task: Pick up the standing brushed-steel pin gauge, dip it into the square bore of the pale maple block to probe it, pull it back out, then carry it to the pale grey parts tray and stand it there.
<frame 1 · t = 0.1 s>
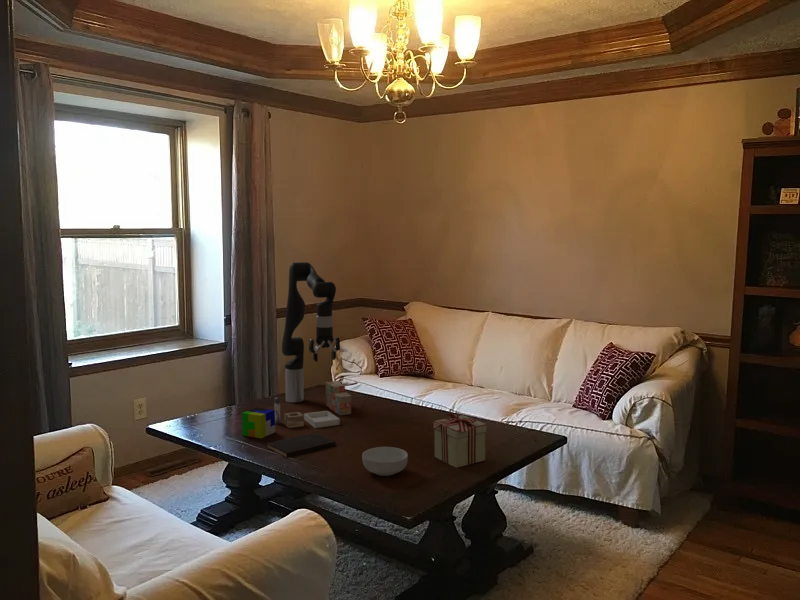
hand: (324, 360, 308), 29 cm above the table, fingers open, 8 cm apart
hardcover book: (301, 448, 277), on the table
maple bore block: (294, 425, 307), on the table
stack of blocks: (338, 410, 334), on the table
gift box: (457, 461, 261), on the table
tray: (321, 421, 312), on the table
puzzle toy: (258, 434, 294), on the table
cereal bowl: (385, 472, 247), on the table
pin gauge: (277, 423, 310), on the table
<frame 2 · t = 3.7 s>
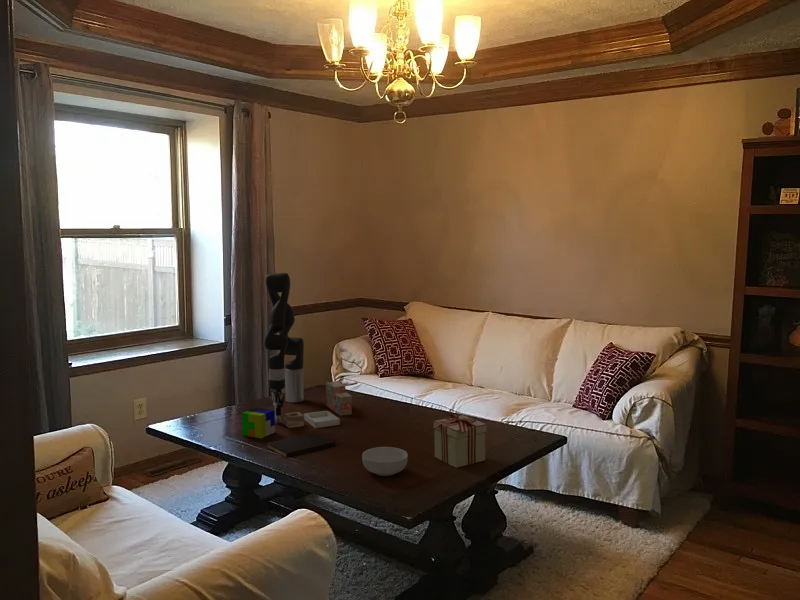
hand: (277, 414, 309), 4 cm above the table, fingers closed on pin gauge, 2 cm apart
pin gauge: (277, 423, 310), on the table, touching gripper
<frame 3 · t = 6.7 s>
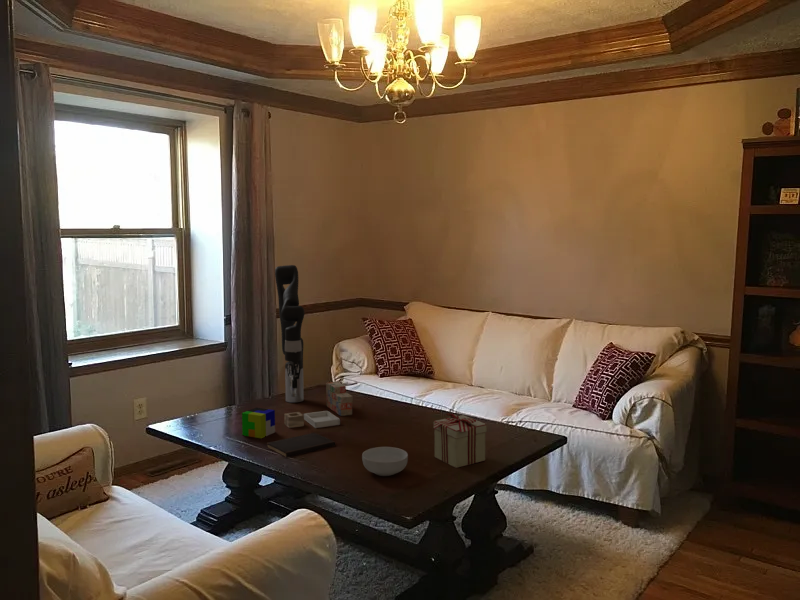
hand: (293, 387, 305), 18 cm above the table, fingers closed on pin gauge, 2 cm apart
pin gauge: (293, 395, 306), point 13 cm above the table, touching gripper
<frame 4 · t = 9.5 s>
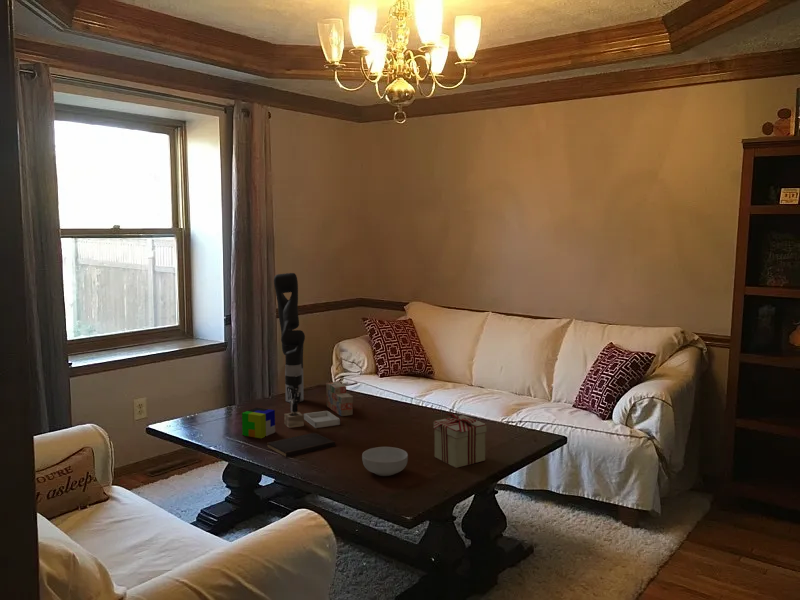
hand: (293, 410, 306), 7 cm above the table, fingers closed on pin gauge, 2 cm apart
pin gauge: (293, 419, 307), point 2 cm above the table, touching gripper
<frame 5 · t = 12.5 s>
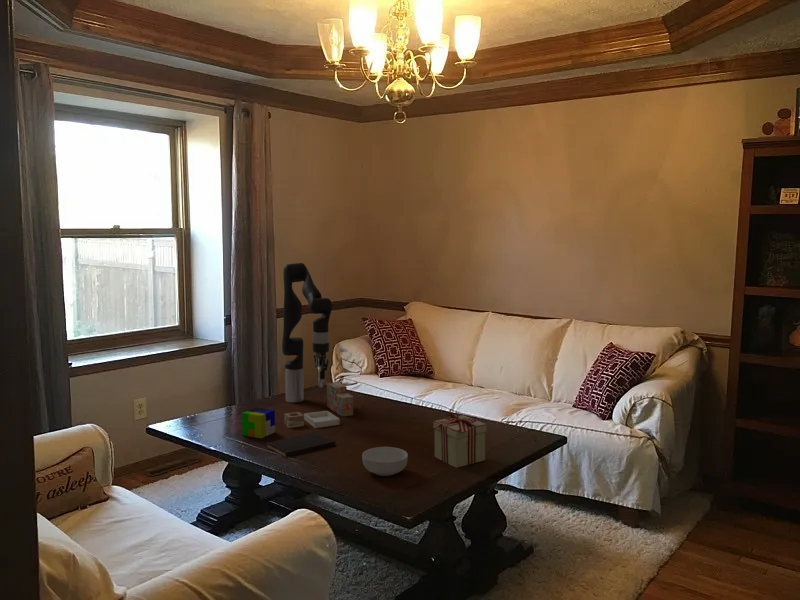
hand: (321, 378, 310), 21 cm above the table, fingers closed on pin gauge, 2 cm apart
pin gauge: (321, 387, 310), point 17 cm above the table, touching gripper
when the fingers open (6 cm above the table, at t = 15.4 s): pin gauge stays where it is, resting on tray.
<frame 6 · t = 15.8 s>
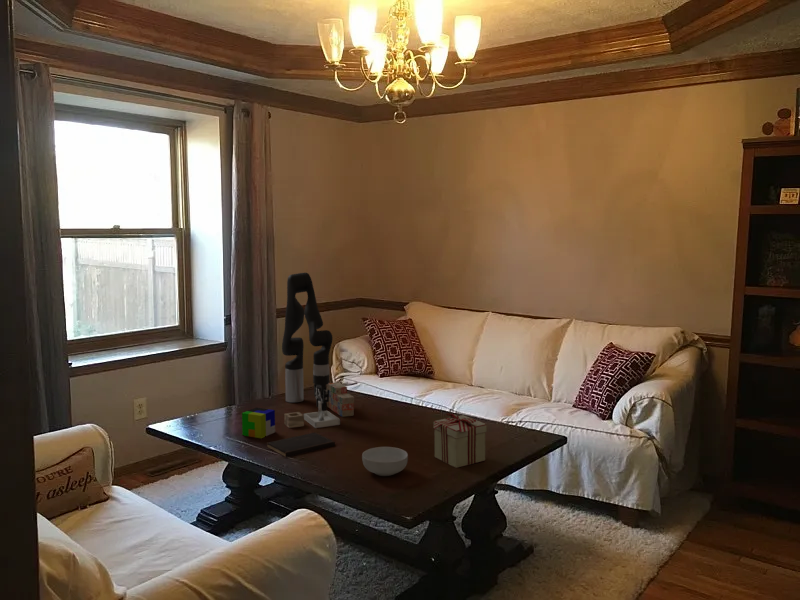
hand: (321, 408, 311), 6 cm above the table, fingers open, 6 cm apart
pin gauge: (321, 420, 312), point 1 cm above the table, touching tray
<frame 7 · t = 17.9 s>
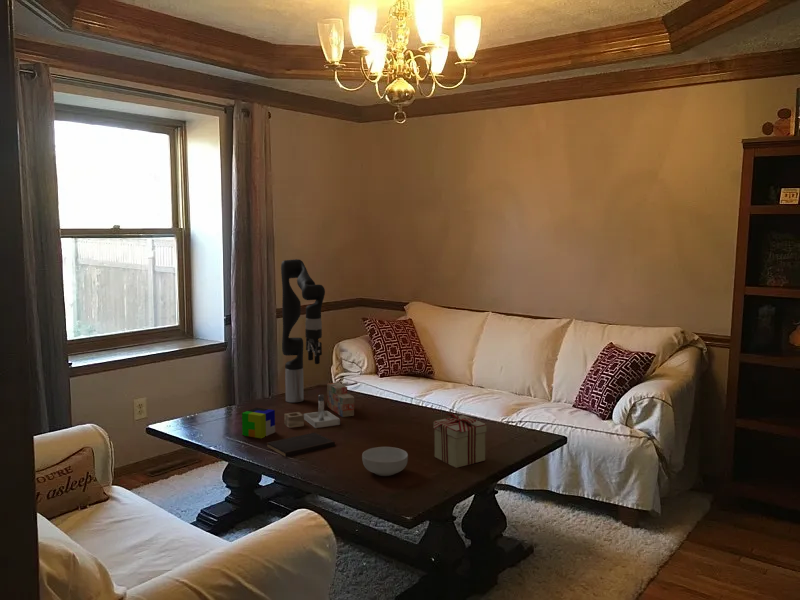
hand: (313, 362, 312), 28 cm above the table, fingers open, 8 cm apart
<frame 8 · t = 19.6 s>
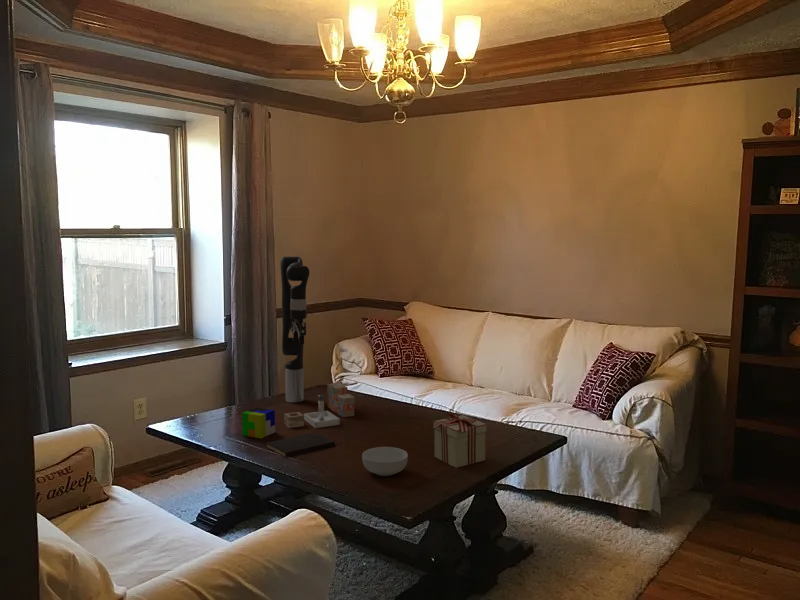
hand: (298, 342, 315), 36 cm above the table, fingers open, 8 cm apart
at the end: pin gauge inside the target area on the tray (0.2 cm from its centre), point 0.6 cm above the tray's base; the gripper is holding nothing; maple bore block moved 0.2 cm from its start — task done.
